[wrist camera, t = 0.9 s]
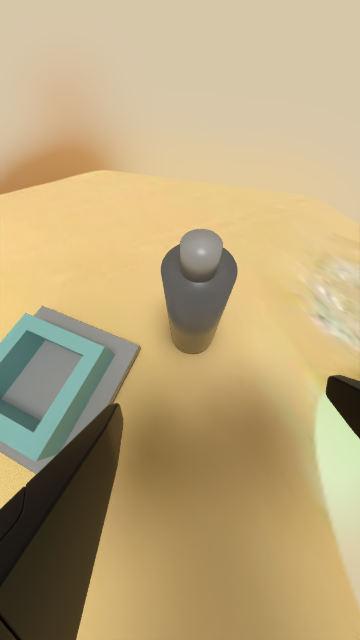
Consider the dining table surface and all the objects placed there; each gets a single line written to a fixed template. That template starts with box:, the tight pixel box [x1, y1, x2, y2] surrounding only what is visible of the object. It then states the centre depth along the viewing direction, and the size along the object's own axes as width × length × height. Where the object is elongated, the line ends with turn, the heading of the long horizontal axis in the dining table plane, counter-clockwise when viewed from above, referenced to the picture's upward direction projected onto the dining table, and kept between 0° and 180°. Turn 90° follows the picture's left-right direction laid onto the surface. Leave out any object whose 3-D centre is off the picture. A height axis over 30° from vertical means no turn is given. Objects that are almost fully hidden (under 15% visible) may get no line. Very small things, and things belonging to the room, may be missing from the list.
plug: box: [161, 229, 237, 354], centre depth 17 cm, size 5×5×14 cm
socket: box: [0, 306, 141, 474], centre depth 19 cm, size 14×14×4 cm
